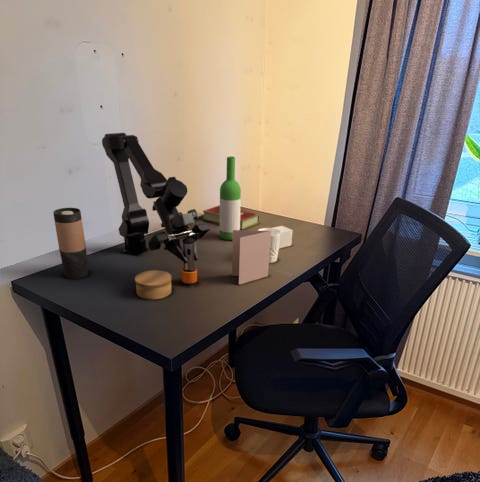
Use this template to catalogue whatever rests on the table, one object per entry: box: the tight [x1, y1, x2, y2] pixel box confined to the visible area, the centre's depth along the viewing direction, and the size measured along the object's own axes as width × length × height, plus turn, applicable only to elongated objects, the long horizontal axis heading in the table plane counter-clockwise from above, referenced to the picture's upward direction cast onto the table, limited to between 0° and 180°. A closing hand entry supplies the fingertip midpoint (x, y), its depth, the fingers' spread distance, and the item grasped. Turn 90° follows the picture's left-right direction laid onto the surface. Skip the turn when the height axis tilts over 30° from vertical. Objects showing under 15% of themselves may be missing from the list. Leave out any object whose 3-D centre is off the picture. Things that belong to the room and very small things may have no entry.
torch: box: [181, 238, 198, 284], centre depth 131 cm, size 5×5×13 cm
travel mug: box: [52, 207, 90, 280], centre depth 133 cm, size 8×8×20 cm
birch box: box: [134, 269, 173, 300], centre depth 128 cm, size 10×10×4 cm
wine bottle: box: [219, 155, 242, 241], centre depth 164 cm, size 8×8×30 cm
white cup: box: [257, 227, 281, 264], centre depth 151 cm, size 8×8×10 cm
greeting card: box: [231, 229, 271, 285], centre depth 134 cm, size 11×7×15 cm, turn 91°
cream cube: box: [273, 225, 294, 249], centre depth 165 cm, size 6×6×6 cm
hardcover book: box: [202, 204, 260, 230], centre depth 188 cm, size 12×21×4 cm, turn 54°
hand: (191, 261), depth 130 cm, fingers closed on torch, 3 cm apart
